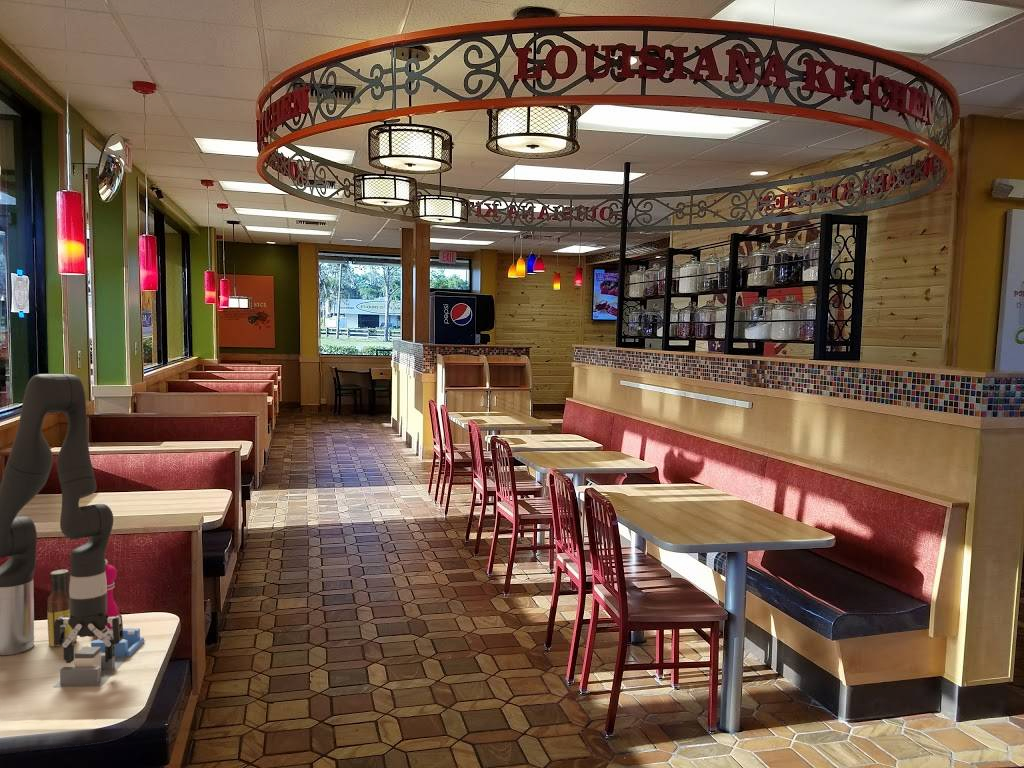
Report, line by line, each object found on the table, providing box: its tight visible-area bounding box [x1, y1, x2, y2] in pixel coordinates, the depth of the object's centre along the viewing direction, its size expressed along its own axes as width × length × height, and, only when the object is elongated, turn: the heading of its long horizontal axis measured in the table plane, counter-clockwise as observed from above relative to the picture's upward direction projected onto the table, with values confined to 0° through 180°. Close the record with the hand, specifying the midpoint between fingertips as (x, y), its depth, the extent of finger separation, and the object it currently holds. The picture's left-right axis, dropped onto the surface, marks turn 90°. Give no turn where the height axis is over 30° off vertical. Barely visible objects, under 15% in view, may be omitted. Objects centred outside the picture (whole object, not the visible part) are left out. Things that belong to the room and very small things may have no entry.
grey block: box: [74, 646, 101, 673], centre depth 175 cm, size 4×4×6 cm
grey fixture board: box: [53, 627, 146, 688], centre depth 183 cm, size 10×26×5 cm, turn 5°
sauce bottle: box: [46, 568, 78, 648], centre depth 193 cm, size 7×6×20 cm
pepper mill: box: [101, 558, 120, 633], centre depth 204 cm, size 7×7×20 cm
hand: (89, 661), depth 175 cm, fingers open, 8 cm apart
